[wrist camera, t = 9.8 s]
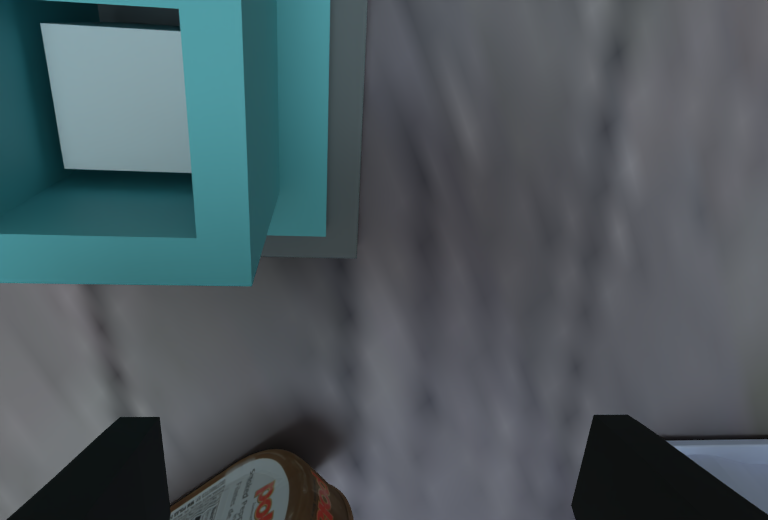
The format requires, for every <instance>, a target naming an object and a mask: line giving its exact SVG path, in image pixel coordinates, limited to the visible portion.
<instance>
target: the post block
mask: <svg viewBox="0 0 768 520" xmlns="http://www.w3.org/2000/svg"><path fill="white" fill-rule="evenodd" d="M98 11H99V19H100V22H78V23H40V25H41V31H42V37H43V43H44V49H45V55H46V61H47V67H48V73H49V79H50V85H51V91H52V97H53V103H54V109H55V115H56V121H57V127H58V133H59V139H60V145H61V151H62V157H63V163H64V169H87V170H117V171H146V172H176V173H192V172H191V159H190V146H189V133H188V121H187V108H186V95H185V82H184V69H183V56H182V43H181V30H180V17H179V9H175V8H159V7H143V6H127V5H111V4H98ZM366 24H367V0H330V43H329V97H328V150H327V204H326V237H317V236H274V235H267V236H266V240H265V243H264V247H263V250H262V253H261V257H306V258H357V237H358V213H359V189H360V166H361V142H362V118H363V95H364V71H365V47H366Z"/></svg>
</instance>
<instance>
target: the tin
mask: <svg viewBox="0 0 768 520" xmlns="http://www.w3.org/2000/svg"><path fill="white" fill-rule="evenodd" d="M170 511H171V515H170V520H354V519H353V514H352V511H351V507H350V505H349V503H348V501H347V499H346V497H345V496H344V494H343V493H342V492H341V491H340V490H338V489H337V488H335V487H334V486H332V485H330V484H328V483H327V482H326V481H325V480H324V479H323V478H322V477H321V476H320V475H319V474H318V473H317V472H316V471H315V470H314V469H313V468H312V467H311V466H310V465H309V464H307V463H306V462H305V461H304V460H303V459H301V458H300V457H299V456H297V455H295V454H294V453H292V452H289V451H286V450H282V449H269V450H264V451H261V452H257V453H255V454H252V455H250V456H247V457H246V458H244V459H242V460H240V461H238V462H236V463H235V464H233V465H232V466H230V467H229V468H227V469H226V470H225V471H223V472H222V473H220V474H218V475H217V476H215V477H214V478H212V479H211V480H209V481H208V482H207V483H205V484H204V485H202V486H201V487H199V488H198V489H196V490H195V491H193V492H192V493H190V494H189V495H187V496H186V497H184V498H183V499H181V500H180V501H178V502H177V503H175V504H174V505H172V506H171V507H170Z"/></svg>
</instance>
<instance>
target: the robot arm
mask: <svg viewBox="0 0 768 520" xmlns="http://www.w3.org/2000/svg"><path fill="white" fill-rule="evenodd" d="M571 506H572V509H573V512H574V515H575V518H576V520H768V439H742V440H676V441H665V440H664V439H663V438H661V437H660V436H658V435H657V434H656V433H654V432H653V431H651V430H650V429H648V428H647V427H646V426H644V425H643V424H641V423H640V422H638V421H637V420H635V419H633V418H632V417H630V416H629V415H594V416H593V420H592V424H591V428H590V432H589V436H588V440H587V444H586V448H585V452H584V456H583V460H582V464H581V468H580V472H579V476H578V480H577V485H576V489H575V493H574V497H573V501H572V505H571ZM170 515H171V511H170V502H169V494H168V485H167V477H166V468H165V460H164V451H163V443H162V434H161V426H160V417H120V418H118V419H117V420H116V421H115V422H114V423H113V424H112V425H111V426H110V427H108V428H107V429H106V430H105V431H104V432H103V433H102V434H101V435H99V436H98V437H97V438H96V439H95V440H94V441H93V442H92V443H91V444H90V445H89V446H87V447H86V448H85V449H84V450H83V451H82V452H81V453H80V454H79V455H78V456H77V457H76V458H75V459H73V460H72V461H71V462H70V463H69V464H68V465H67V466H66V467H65V468H64V469H63V470H61V471H60V472H59V473H58V474H57V475H56V476H55V477H54V478H53V479H52V480H51V481H50V482H48V483H47V484H46V485H45V486H44V487H43V488H42V489H41V490H39V491H38V492H37V493H36V494H35V495H34V496H33V497H32V498H30V499H29V500H28V501H27V502H26V503H25V504H24V505H23V506H21V507H20V508H19V509H18V510H17V511H16V512H15V513H14V514H12V515H11V516H10V517H9V518H8V519H7V520H170Z"/></svg>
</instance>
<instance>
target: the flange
mask: <svg viewBox="0 0 768 520" xmlns="http://www.w3.org/2000/svg"><path fill="white" fill-rule="evenodd" d="M98 4H111V5H127V6H143V7H159V8H175V9H179V17H180V30H181V43H182V56H183V69H184V82H185V95H186V108H187V121H188V133H189V146H190V159H191V172H192V173H176V172H146V171H117V170H87V169H64V163H63V157H62V151H61V145H60V139H59V133H58V127H57V121H56V115H55V109H54V103H53V97H52V91H51V85H50V79H49V73H48V67H47V61H46V55H45V49H44V43H43V37H42V31H41V25H40V23H78V22H100V19H99V11H98ZM329 43H330V0H0V283H48V284H121V285H195V286H252V284H253V281H254V277H255V274H256V270H257V267H258V264H259V260H260V257H261V253H262V250H263V247H264V243H265V240H266V236H267V235H274V236H317V237H326V204H327V150H328V97H329Z"/></svg>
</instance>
